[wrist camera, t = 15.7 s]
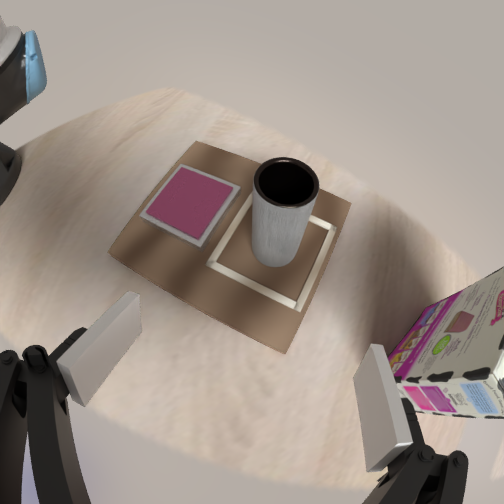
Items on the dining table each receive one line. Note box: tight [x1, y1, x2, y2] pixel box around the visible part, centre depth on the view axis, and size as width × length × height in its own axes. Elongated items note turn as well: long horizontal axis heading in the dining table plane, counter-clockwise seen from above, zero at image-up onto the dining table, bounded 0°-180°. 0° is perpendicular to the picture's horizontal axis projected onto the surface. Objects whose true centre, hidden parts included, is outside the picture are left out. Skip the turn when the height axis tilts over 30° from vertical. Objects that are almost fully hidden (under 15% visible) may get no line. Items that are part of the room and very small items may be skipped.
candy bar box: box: [387, 267, 504, 419], centre depth 16 cm, size 11×5×16 cm, turn 129°
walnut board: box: [108, 141, 351, 354], centre depth 29 cm, size 21×18×1 cm
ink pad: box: [139, 164, 241, 252], centre depth 29 cm, size 8×8×2 cm
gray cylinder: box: [252, 157, 319, 267], centre depth 23 cm, size 4×4×10 cm
